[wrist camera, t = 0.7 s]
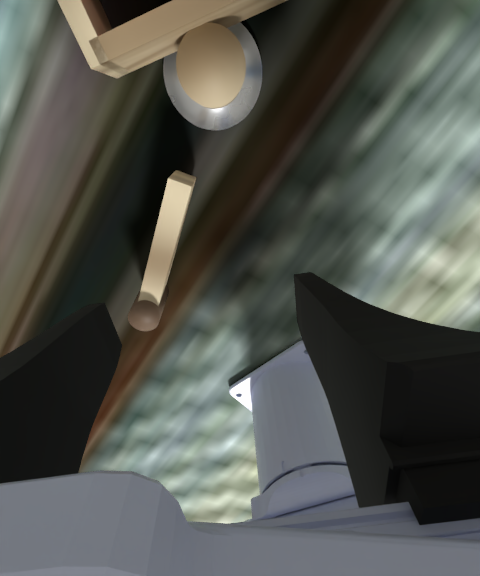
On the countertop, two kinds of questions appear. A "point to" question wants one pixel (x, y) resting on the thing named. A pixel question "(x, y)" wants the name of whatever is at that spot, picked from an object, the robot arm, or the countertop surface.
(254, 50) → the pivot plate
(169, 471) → the countertop surface
